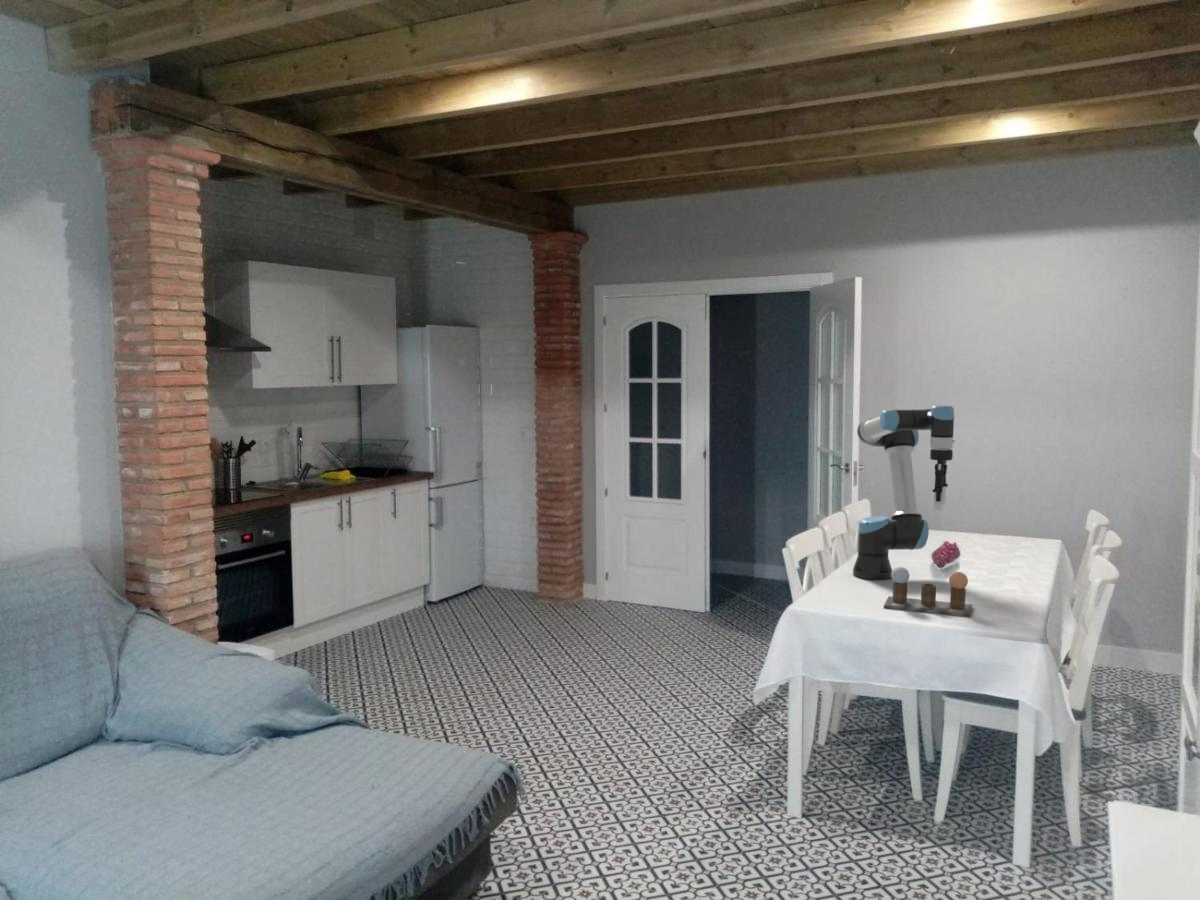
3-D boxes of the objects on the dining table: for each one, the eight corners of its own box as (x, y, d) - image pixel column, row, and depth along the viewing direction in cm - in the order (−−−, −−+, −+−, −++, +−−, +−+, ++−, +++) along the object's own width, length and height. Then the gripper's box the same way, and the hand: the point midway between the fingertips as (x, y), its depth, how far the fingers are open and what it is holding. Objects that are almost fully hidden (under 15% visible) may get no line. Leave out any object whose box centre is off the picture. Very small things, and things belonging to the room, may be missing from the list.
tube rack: (883, 608, 318) (884, 585, 317) (888, 598, 330) (889, 577, 329) (970, 617, 306) (971, 593, 306) (972, 607, 318) (973, 584, 317)
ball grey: (890, 585, 320) (890, 568, 319) (892, 581, 325) (892, 564, 325) (908, 586, 317) (908, 569, 317) (910, 582, 323) (910, 566, 322)
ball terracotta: (948, 590, 312) (948, 573, 311) (949, 586, 317) (949, 569, 317) (967, 592, 309) (967, 574, 309) (968, 588, 315) (968, 571, 314)
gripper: (950, 452, 314) (948, 513, 317) (955, 445, 337) (953, 502, 339) (927, 451, 317) (925, 512, 320) (933, 445, 340) (931, 501, 342)
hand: (939, 507), depth 329 cm, fingers open, 13 cm apart
